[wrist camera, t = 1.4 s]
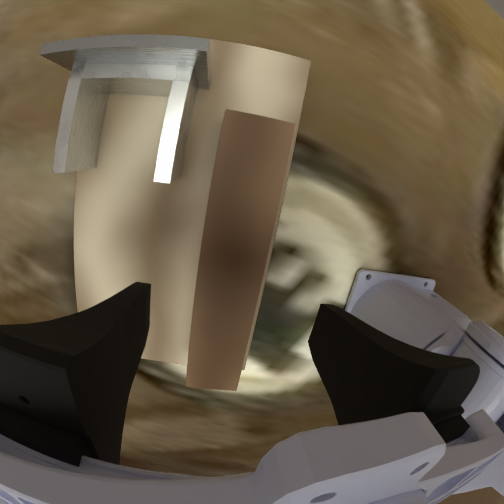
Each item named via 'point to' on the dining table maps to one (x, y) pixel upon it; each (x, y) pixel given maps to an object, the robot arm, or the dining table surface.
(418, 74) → the dining table surface
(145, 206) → the base board
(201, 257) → the rail
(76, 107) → the bracket
